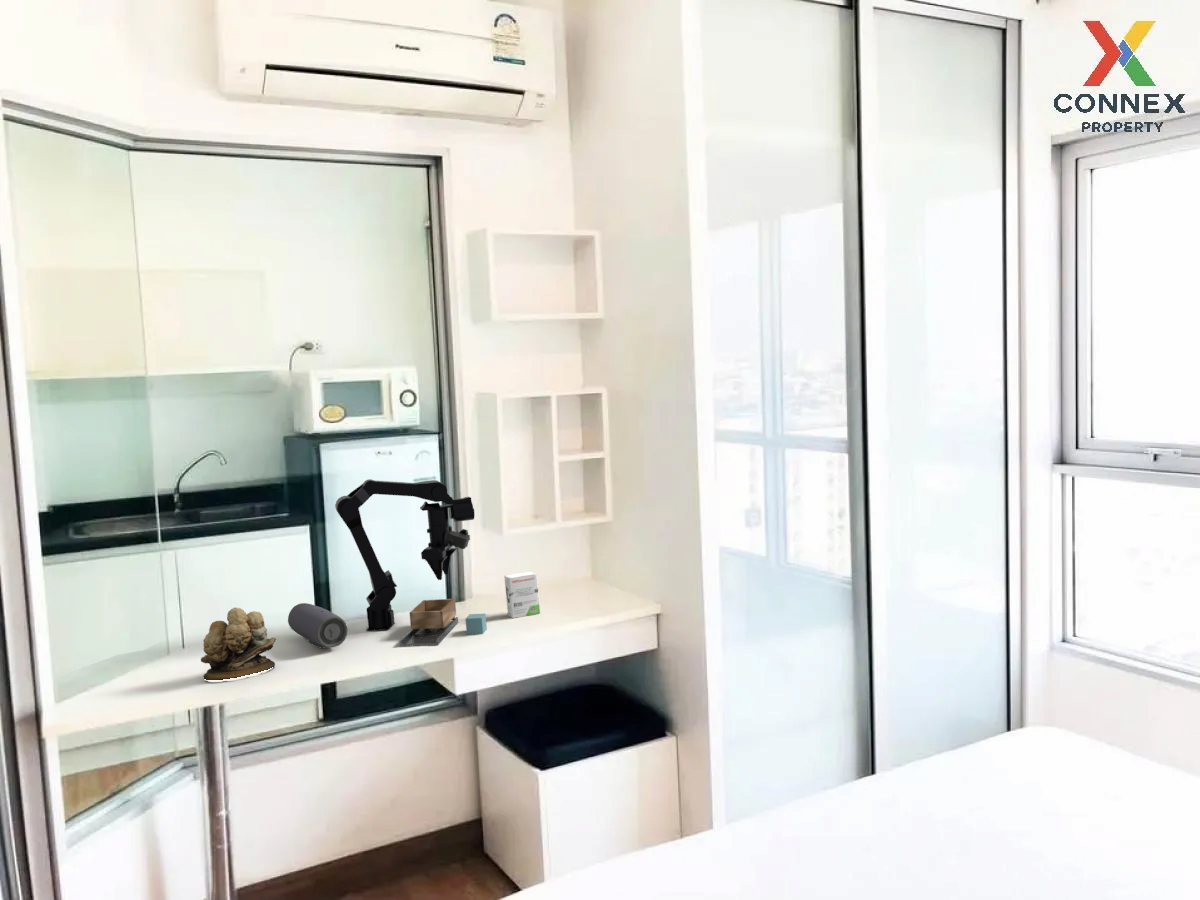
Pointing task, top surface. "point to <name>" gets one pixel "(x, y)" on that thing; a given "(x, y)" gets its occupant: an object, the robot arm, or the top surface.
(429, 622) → the wooden drawer
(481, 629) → the part block
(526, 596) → the ink box
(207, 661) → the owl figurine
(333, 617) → the bluetooth speaker
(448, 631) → the track
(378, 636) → the top surface
